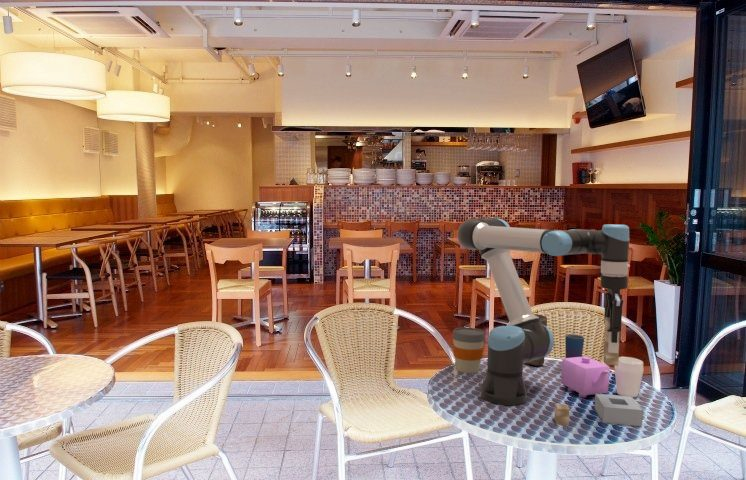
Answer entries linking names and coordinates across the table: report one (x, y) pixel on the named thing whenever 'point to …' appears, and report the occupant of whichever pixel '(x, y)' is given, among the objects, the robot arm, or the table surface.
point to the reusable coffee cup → (468, 348)
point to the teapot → (585, 376)
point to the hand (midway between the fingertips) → (611, 350)
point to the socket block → (618, 409)
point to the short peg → (562, 414)
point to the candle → (541, 361)
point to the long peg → (608, 357)
